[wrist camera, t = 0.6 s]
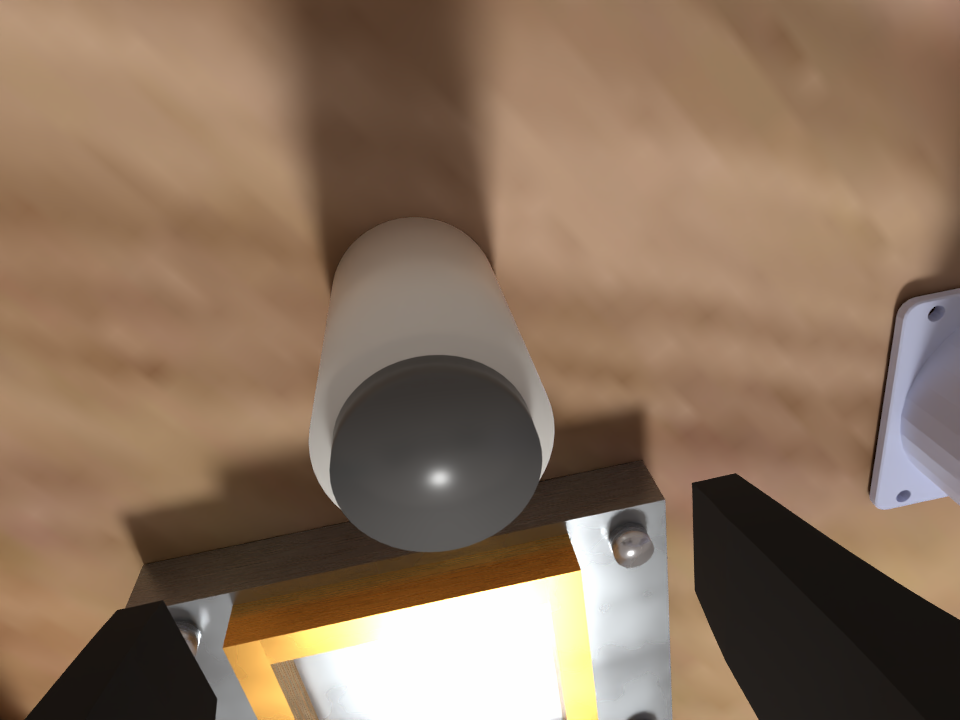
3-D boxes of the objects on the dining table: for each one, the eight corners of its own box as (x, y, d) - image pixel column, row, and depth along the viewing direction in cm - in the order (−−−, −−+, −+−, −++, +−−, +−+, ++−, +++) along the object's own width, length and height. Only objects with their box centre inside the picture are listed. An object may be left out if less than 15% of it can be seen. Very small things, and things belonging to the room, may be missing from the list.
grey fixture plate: (642, 460, 22) (685, 534, 19) (654, 697, 28) (689, 784, 25) (143, 565, 21) (103, 659, 18) (260, 786, 27) (245, 887, 24)
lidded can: (482, 202, 18) (550, 330, 11) (506, 352, 20) (575, 540, 13) (312, 234, 17) (270, 386, 10) (354, 383, 19) (341, 590, 13)
